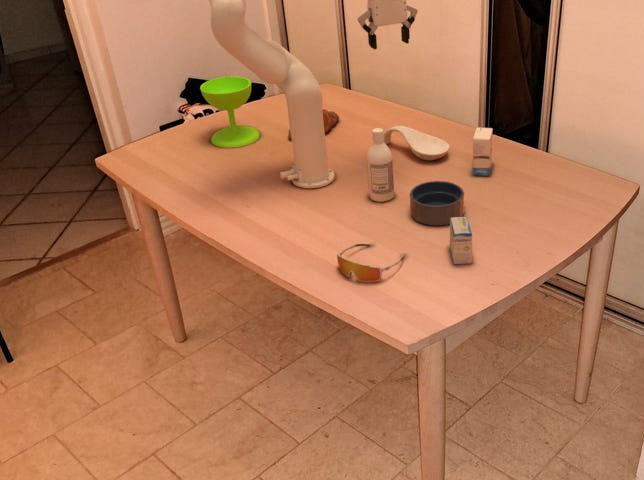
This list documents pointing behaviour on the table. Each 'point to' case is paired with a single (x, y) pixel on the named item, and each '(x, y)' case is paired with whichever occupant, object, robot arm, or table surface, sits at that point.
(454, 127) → the table surface
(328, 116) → the pastry
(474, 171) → the ink box
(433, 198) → the bowl
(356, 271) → the sunglasses
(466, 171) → the table surface
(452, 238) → the medicine box
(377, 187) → the bath foam
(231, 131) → the wineglass
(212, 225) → the table surface
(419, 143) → the spoon rest
